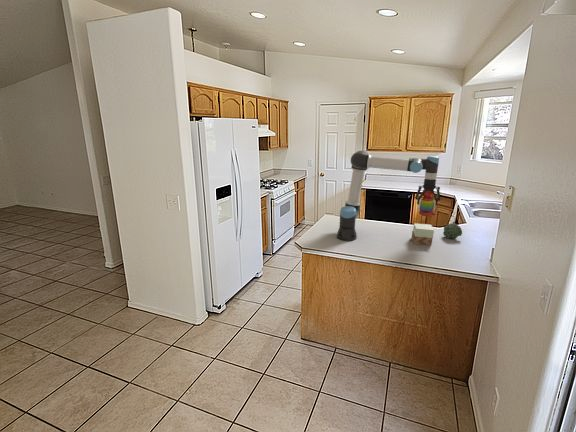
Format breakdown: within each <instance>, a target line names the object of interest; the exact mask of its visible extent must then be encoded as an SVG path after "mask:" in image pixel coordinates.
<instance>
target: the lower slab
mask: <svg viewBox="0 0 576 432" xmlns="http://www.w3.org/2000/svg"><path fill="white" fill-rule="evenodd" d="M411 231H412V232H411V240H412V242H413V244H414V245H423V246H424V245H426V246H432V244H433V238H428V237H416V236H415V235H414V232H413V230H411Z"/></svg>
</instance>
